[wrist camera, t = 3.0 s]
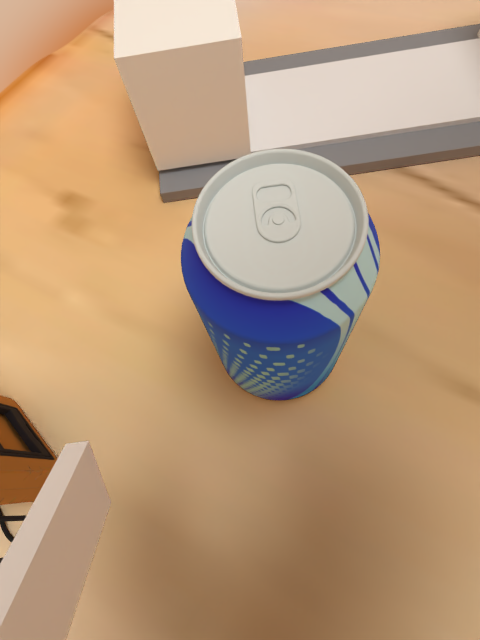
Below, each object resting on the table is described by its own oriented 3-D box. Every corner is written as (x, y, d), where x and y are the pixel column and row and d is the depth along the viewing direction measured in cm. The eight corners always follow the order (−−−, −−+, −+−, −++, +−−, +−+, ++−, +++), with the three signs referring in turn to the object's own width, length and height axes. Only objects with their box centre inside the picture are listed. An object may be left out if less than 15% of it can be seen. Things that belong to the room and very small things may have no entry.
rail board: (546, 24, 39) (649, -149, 28) (612, 135, 34) (767, -25, 23) (157, 87, 41) (114, -55, 30) (163, 202, 36) (114, 81, 25)
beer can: (357, 328, 30) (435, 182, 15) (298, 427, 28) (321, 369, 13) (260, 275, 32) (246, 102, 17) (199, 363, 30) (122, 251, 15)
